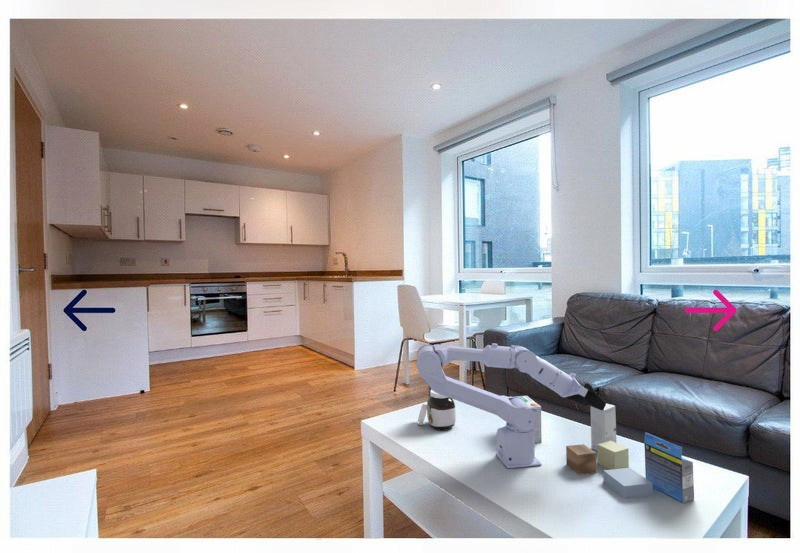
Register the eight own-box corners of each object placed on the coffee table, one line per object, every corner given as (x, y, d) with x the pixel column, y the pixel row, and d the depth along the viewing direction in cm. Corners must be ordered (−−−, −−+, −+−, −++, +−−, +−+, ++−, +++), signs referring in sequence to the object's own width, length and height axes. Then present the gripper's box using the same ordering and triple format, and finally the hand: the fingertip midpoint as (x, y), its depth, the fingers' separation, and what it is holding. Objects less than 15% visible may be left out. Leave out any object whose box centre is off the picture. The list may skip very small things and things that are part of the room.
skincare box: (605, 454, 106) (605, 410, 106) (590, 448, 110) (589, 405, 109) (617, 448, 109) (617, 405, 109) (601, 442, 113) (601, 401, 113)
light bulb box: (507, 429, 124) (506, 396, 124) (527, 428, 124) (527, 395, 124) (520, 444, 113) (520, 407, 113) (542, 443, 114) (542, 406, 113)
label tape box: (695, 500, 84) (694, 444, 84) (682, 504, 83) (681, 447, 83) (656, 480, 93) (655, 429, 92) (644, 483, 91) (643, 431, 91)
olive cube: (615, 472, 97) (614, 452, 97) (597, 463, 101) (597, 444, 101) (628, 467, 99) (628, 448, 99) (611, 459, 103) (610, 440, 103)
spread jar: (459, 429, 124) (458, 393, 124) (428, 435, 120) (427, 398, 120) (441, 417, 136) (440, 383, 135) (412, 422, 131) (411, 388, 131)
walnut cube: (578, 474, 96) (577, 454, 96) (566, 464, 101) (566, 445, 101) (596, 472, 97) (596, 453, 96) (584, 463, 101) (583, 444, 101)
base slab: (624, 499, 86) (624, 486, 85) (603, 482, 92) (603, 470, 92) (652, 496, 86) (652, 483, 86) (630, 480, 93) (629, 467, 93)
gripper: (571, 365, 97) (618, 395, 96) (546, 362, 111) (587, 387, 110) (558, 390, 95) (606, 420, 95) (535, 383, 110) (576, 409, 109)
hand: (595, 404), depth 103 cm, fingers open, 7 cm apart
